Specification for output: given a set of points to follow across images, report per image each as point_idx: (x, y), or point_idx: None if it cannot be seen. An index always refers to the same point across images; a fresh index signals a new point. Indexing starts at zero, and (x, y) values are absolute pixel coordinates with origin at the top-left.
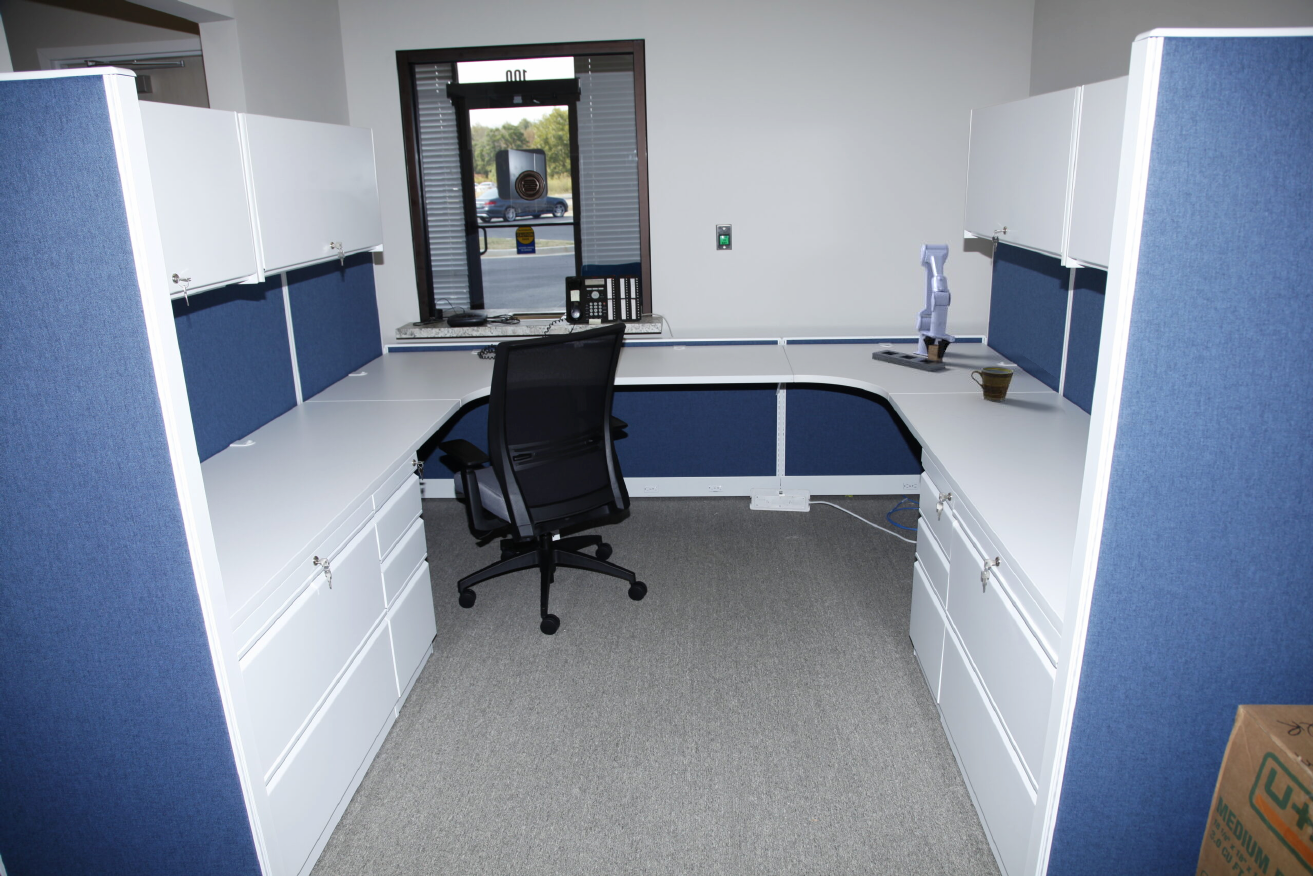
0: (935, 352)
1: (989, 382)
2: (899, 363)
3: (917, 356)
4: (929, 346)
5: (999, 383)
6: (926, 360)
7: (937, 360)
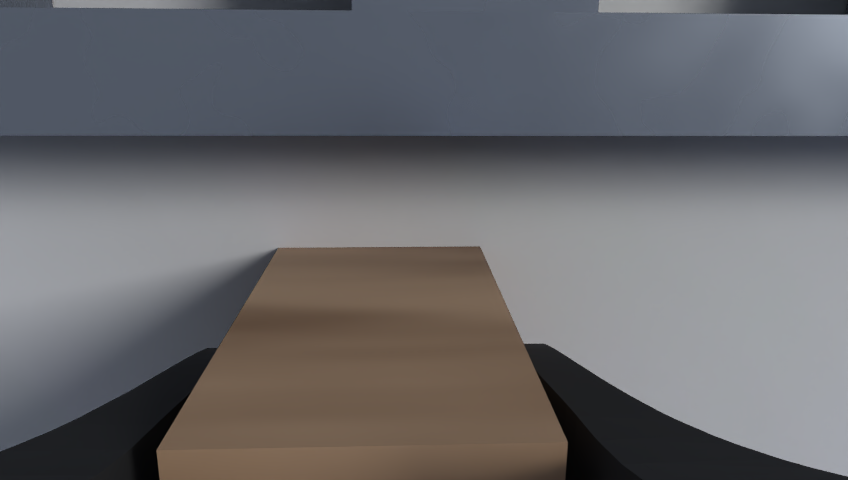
0: (273, 349)
1: None
2: None
3: (676, 97)
4: (532, 421)
5: None
6: (334, 14)
7: (70, 117)
